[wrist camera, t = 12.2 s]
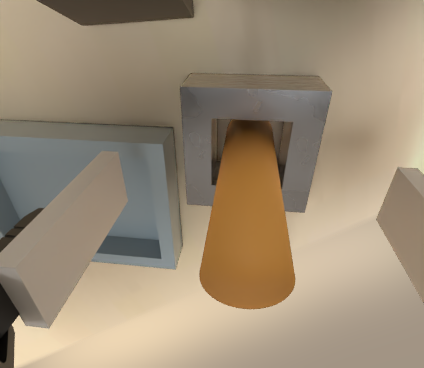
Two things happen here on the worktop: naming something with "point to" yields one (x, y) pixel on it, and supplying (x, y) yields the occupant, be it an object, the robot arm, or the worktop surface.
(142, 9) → the phone stand
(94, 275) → the worktop surface
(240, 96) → the pin socket
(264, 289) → the pin
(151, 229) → the tray
